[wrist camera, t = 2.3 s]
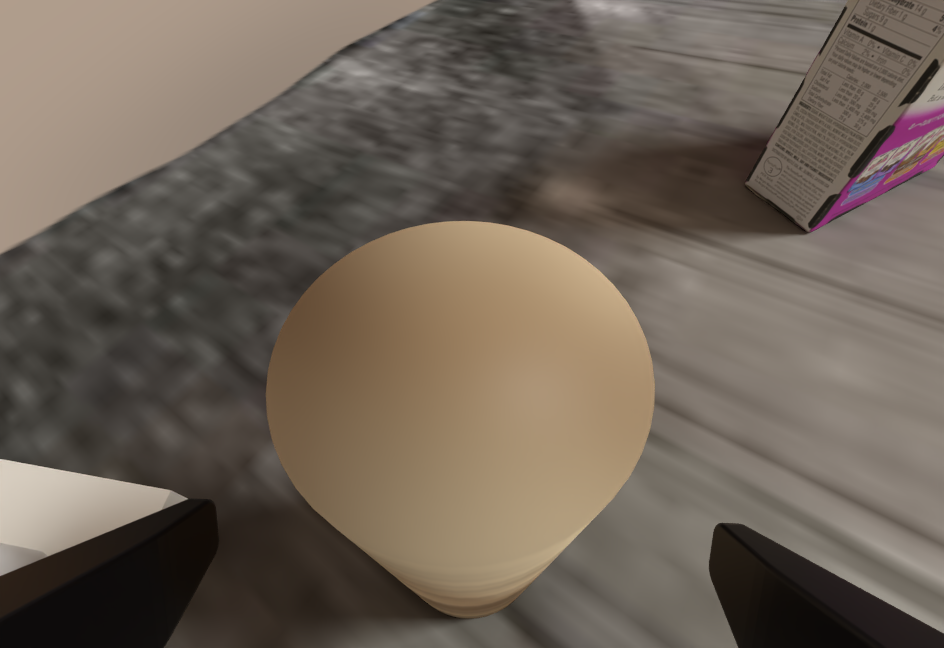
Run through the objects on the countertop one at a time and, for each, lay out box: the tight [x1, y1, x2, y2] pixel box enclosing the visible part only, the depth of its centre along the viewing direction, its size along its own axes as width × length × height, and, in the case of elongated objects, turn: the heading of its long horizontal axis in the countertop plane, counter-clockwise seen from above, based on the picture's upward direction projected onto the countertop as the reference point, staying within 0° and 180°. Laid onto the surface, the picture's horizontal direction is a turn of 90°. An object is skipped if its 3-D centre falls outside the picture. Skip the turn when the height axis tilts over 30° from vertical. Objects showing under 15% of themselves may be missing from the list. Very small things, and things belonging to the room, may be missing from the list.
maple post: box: [266, 221, 655, 618], centre depth 12 cm, size 5×5×13 cm
